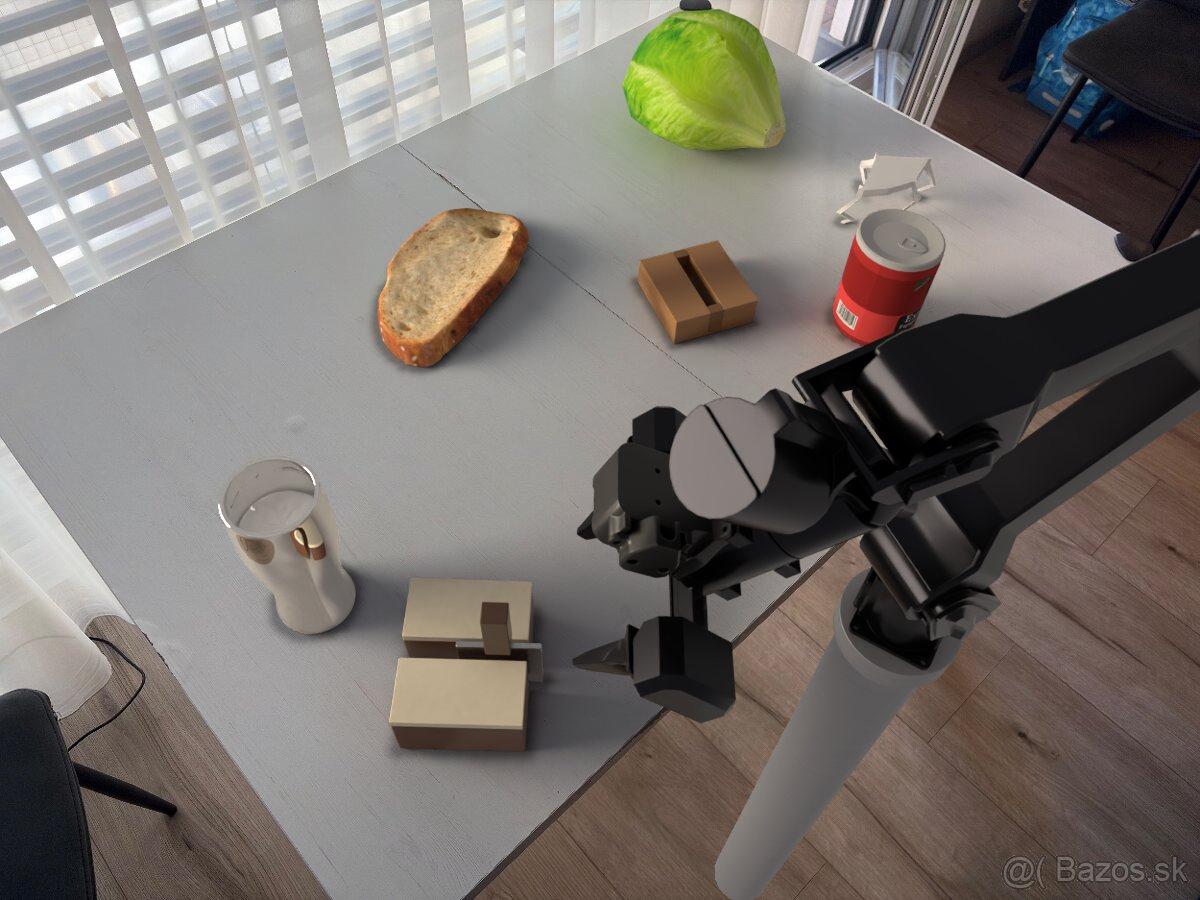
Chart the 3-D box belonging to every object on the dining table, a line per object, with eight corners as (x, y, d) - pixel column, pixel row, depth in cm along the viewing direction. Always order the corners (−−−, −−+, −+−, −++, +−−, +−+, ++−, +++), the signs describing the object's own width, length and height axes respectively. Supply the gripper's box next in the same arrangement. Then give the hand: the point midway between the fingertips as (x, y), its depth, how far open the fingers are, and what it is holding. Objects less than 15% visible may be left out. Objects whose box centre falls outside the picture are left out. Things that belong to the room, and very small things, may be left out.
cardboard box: (753, 322, 95) (758, 300, 93) (673, 344, 93) (676, 322, 91) (714, 262, 100) (717, 239, 97) (637, 282, 98) (639, 260, 95)
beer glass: (320, 656, 73) (271, 558, 61) (252, 611, 75) (191, 507, 63) (379, 587, 77) (344, 481, 65) (313, 546, 79) (267, 436, 67)
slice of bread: (398, 377, 90) (392, 350, 87) (345, 253, 99) (338, 224, 96) (576, 322, 94) (576, 295, 91) (509, 209, 104) (507, 180, 101)
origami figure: (869, 166, 110) (881, 129, 106) (934, 199, 107) (949, 163, 103) (811, 218, 104) (820, 181, 100) (878, 255, 101) (890, 218, 97)
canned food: (903, 360, 93) (939, 276, 84) (822, 336, 94) (848, 251, 85) (917, 306, 97) (953, 221, 88) (839, 284, 98) (866, 198, 89)
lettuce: (720, 208, 105) (738, 97, 94) (591, 123, 113) (594, 13, 102) (808, 148, 111) (835, 39, 100) (680, 72, 120) (692, -37, 109)
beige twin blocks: (533, 612, 76) (532, 581, 72) (525, 751, 70) (522, 726, 65) (419, 609, 76) (410, 577, 72) (399, 748, 69) (389, 722, 65)
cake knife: (543, 669, 73) (540, 602, 64) (542, 689, 72) (539, 624, 63) (464, 667, 73) (450, 600, 64) (462, 687, 72) (447, 622, 63)
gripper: (683, 309, 54) (496, 424, 63) (697, 614, 43) (468, 701, 52) (796, 402, 60) (612, 494, 69) (834, 688, 49) (610, 754, 58)
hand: (579, 597), depth 62 cm, fingers open, 9 cm apart
